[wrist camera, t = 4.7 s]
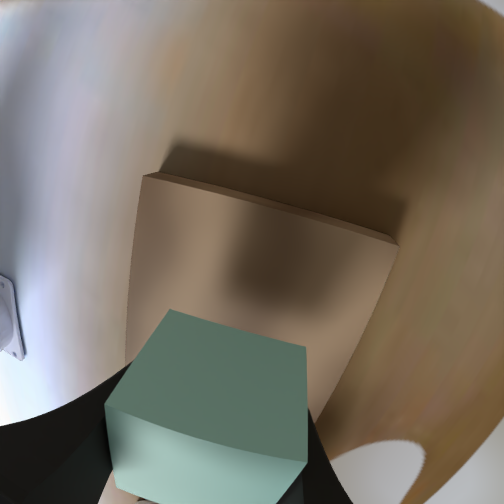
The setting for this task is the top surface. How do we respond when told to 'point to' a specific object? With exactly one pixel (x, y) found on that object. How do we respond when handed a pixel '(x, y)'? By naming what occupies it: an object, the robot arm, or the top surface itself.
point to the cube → (209, 416)
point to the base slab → (255, 272)
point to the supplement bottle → (146, 502)
